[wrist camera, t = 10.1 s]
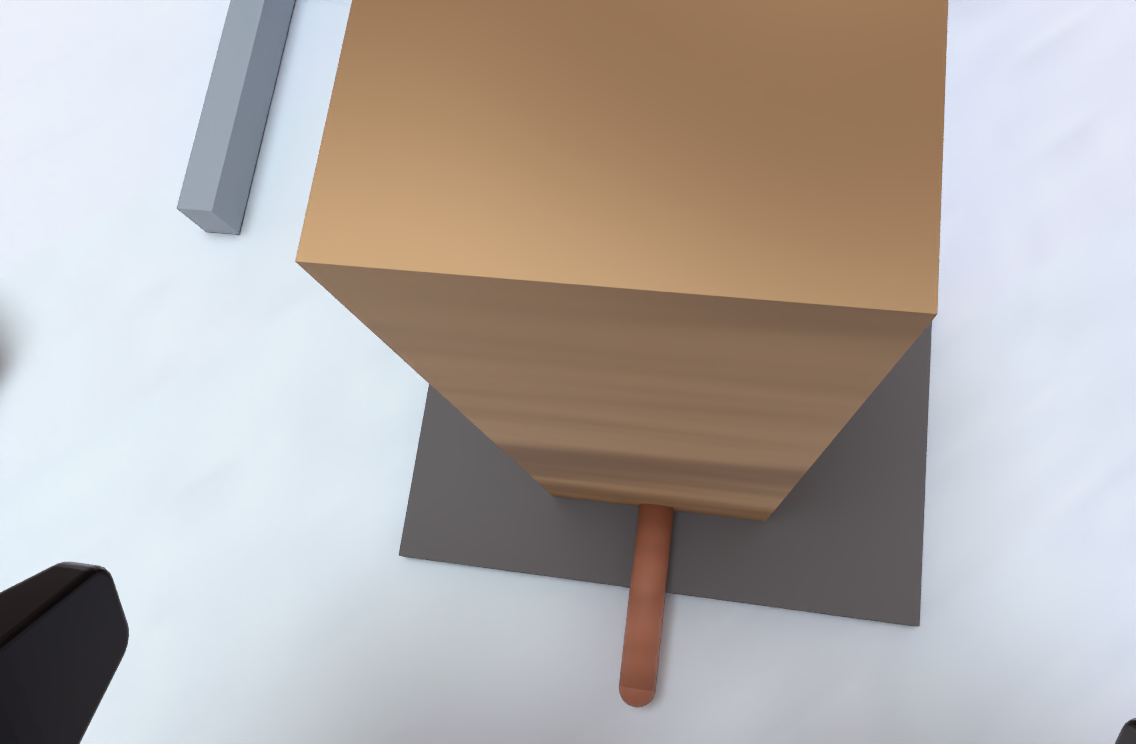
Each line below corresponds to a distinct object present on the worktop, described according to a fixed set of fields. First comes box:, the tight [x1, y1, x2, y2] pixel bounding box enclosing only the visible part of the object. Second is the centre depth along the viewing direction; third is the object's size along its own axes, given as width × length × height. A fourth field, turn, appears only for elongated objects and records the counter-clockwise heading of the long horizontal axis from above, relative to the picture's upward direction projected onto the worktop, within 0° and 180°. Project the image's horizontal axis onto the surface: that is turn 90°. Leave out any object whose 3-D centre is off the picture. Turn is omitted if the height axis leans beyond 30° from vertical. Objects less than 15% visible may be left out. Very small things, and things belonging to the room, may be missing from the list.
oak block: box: [295, 0, 948, 707], centre depth 14 cm, size 9×5×15 cm, turn 172°
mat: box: [399, 321, 932, 626], centre depth 22 cm, size 8×12×1 cm, turn 82°
